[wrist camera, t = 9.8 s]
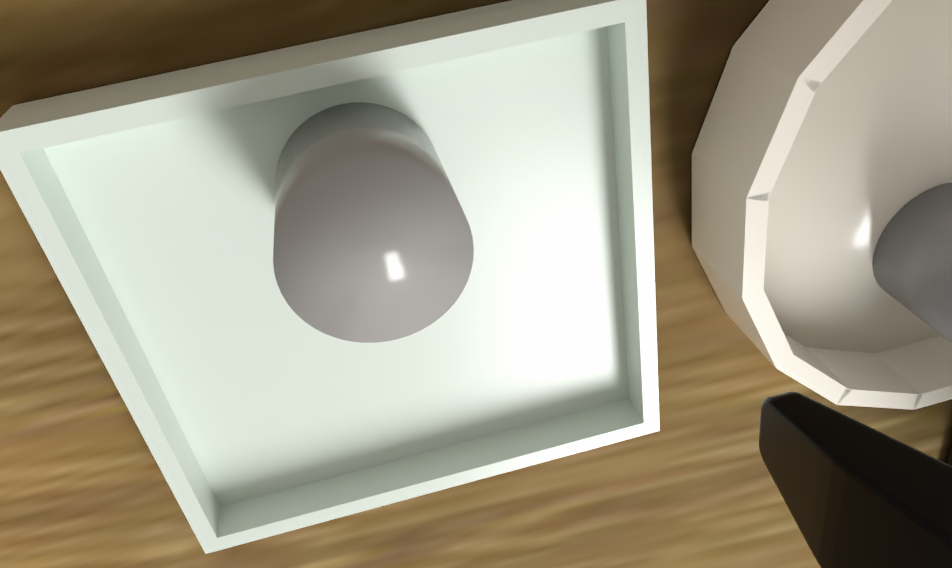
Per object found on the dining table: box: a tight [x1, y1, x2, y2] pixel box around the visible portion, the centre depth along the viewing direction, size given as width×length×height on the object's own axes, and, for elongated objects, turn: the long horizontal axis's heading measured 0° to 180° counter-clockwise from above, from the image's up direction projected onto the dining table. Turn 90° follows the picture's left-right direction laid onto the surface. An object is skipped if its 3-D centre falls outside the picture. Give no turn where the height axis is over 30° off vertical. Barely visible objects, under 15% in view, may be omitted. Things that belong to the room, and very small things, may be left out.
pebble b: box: [273, 102, 474, 343], centre depth 17 cm, size 4×4×4 cm
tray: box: [0, 0, 660, 554], centre depth 20 cm, size 13×14×2 cm
